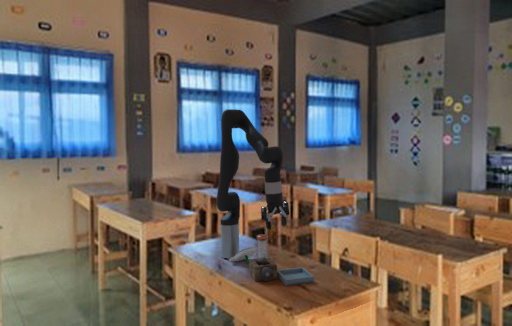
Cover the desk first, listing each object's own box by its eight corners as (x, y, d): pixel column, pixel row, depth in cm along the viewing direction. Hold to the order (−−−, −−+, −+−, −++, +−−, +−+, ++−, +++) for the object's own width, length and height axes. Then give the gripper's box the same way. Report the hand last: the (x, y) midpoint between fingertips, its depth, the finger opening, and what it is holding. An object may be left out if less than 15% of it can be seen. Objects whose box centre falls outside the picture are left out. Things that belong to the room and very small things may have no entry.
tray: (276, 275, 182) (276, 270, 182) (302, 272, 185) (302, 267, 185) (285, 286, 170) (285, 280, 170) (314, 282, 173) (313, 276, 173)
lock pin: (256, 268, 183) (255, 234, 182) (266, 267, 185) (265, 233, 184) (259, 271, 179) (258, 237, 178) (269, 270, 180) (268, 236, 179)
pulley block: (249, 273, 186) (248, 260, 185) (270, 271, 188) (270, 258, 188) (256, 283, 174) (256, 269, 173) (279, 280, 176) (278, 266, 176)
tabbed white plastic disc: (251, 255, 210) (257, 239, 205) (259, 266, 205) (265, 250, 199) (226, 261, 202) (232, 244, 196) (233, 273, 196) (240, 256, 191)
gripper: (280, 188, 189) (283, 222, 191) (255, 193, 181) (258, 229, 183) (291, 189, 183) (294, 225, 185) (266, 195, 175) (269, 232, 177)
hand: (276, 227), depth 184 cm, fingers open, 8 cm apart
